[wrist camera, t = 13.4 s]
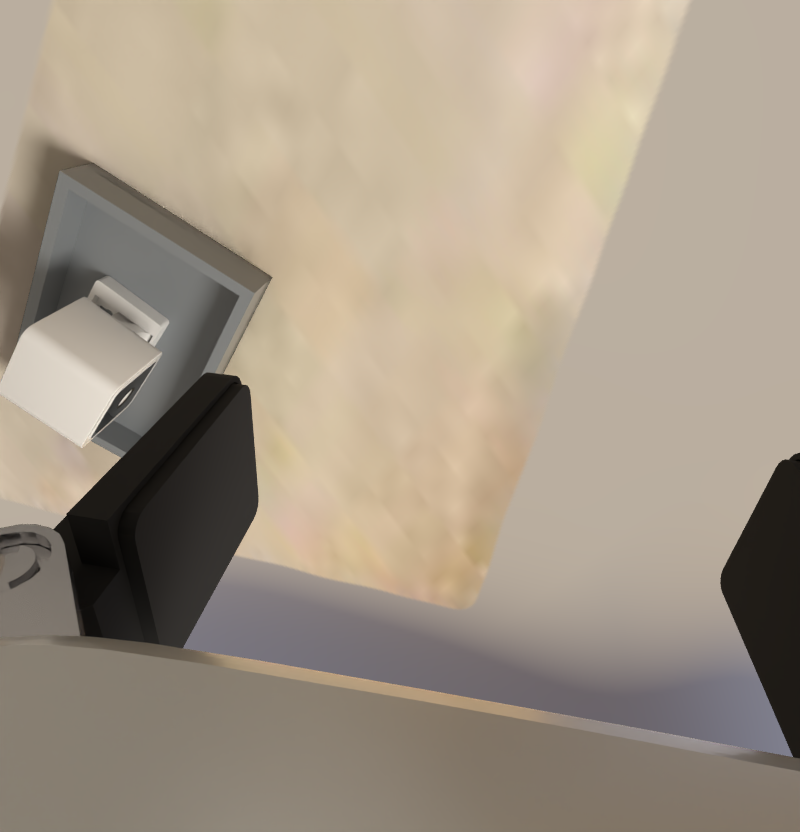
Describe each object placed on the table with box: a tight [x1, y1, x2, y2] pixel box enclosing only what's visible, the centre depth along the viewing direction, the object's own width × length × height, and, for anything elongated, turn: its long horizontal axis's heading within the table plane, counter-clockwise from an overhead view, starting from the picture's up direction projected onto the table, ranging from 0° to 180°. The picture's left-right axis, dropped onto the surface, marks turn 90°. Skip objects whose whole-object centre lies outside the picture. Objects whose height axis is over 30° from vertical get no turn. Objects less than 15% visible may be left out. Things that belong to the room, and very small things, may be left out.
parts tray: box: [17, 163, 272, 458], centre depth 44 cm, size 20×14×4 cm
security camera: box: [0, 276, 169, 448], centre depth 40 cm, size 6×7×10 cm
